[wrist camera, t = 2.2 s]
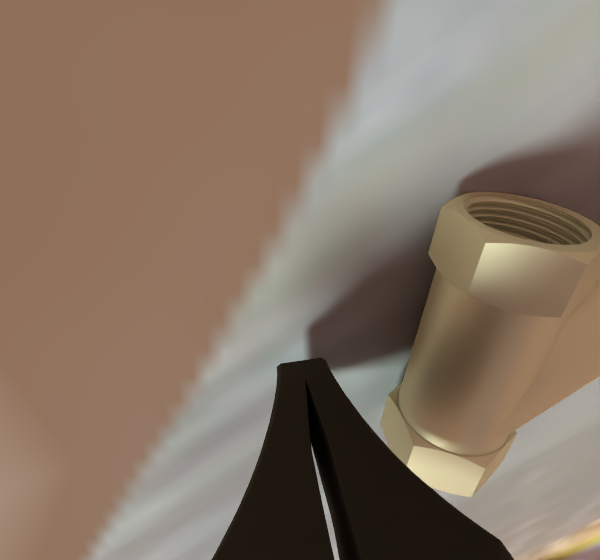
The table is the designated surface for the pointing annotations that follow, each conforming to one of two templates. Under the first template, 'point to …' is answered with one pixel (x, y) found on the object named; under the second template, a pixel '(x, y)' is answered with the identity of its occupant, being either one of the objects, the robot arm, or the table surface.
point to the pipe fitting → (495, 335)
